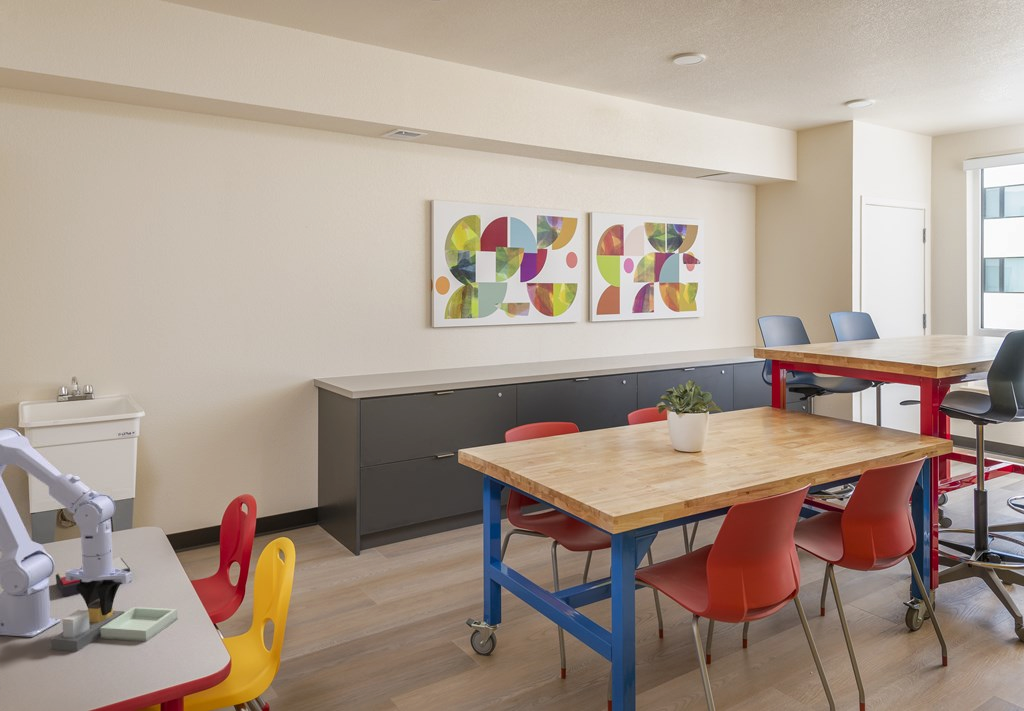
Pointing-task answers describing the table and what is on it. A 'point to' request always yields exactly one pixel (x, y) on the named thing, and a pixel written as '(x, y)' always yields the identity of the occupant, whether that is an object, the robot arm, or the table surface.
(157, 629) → the parts tray
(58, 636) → the block
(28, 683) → the table surface
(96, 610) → the yellow rectangular block
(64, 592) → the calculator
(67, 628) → the block
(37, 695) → the table surface
